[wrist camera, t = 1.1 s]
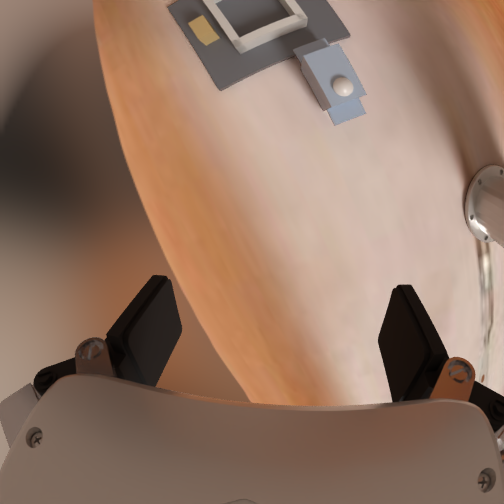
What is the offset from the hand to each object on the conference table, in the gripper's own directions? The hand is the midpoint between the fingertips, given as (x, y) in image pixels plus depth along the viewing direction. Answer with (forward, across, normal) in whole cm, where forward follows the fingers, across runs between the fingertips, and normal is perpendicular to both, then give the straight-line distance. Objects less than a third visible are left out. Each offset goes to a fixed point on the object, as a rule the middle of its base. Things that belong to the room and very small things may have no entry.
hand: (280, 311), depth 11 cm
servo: (+26, -5, -13) cm, 29 cm away
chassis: (+25, +4, -23) cm, 35 cm away
